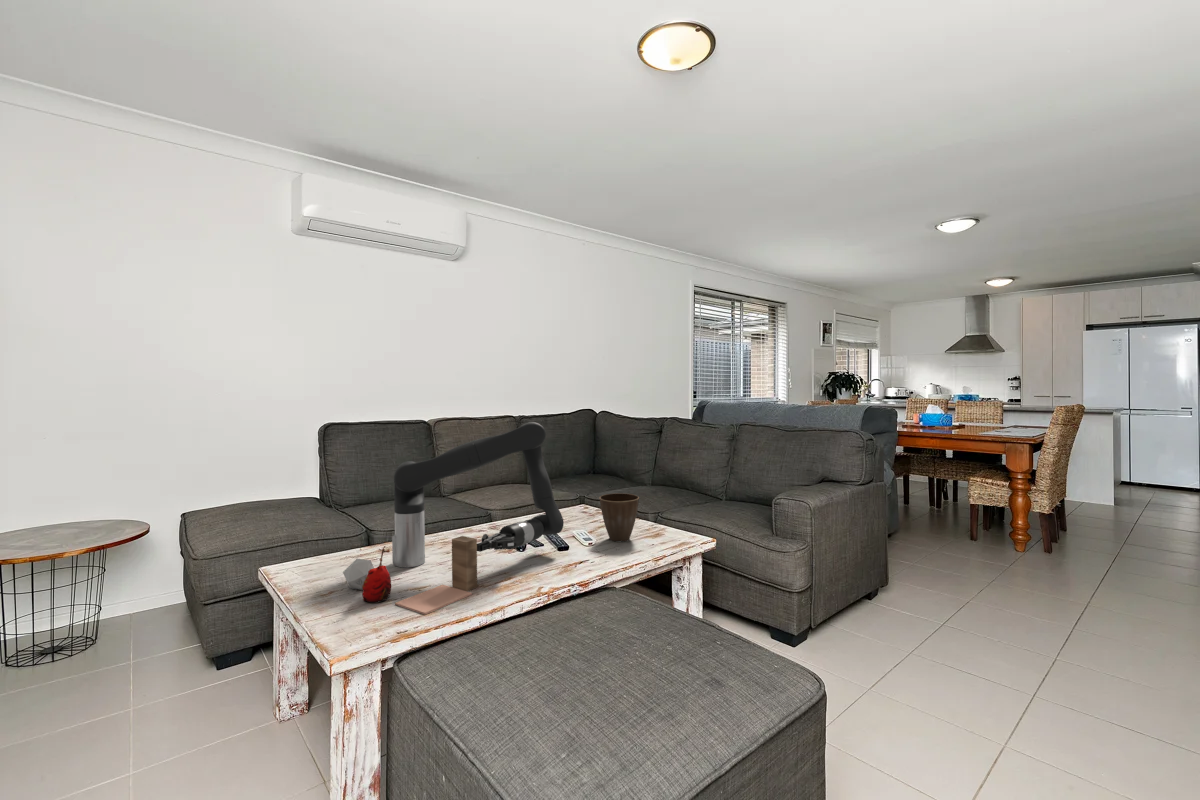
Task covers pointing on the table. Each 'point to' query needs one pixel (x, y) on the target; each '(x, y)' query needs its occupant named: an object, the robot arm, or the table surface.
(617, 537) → the plant pot
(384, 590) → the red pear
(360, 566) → the die
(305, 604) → the table surface
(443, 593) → the felt mat
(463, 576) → the walnut block
